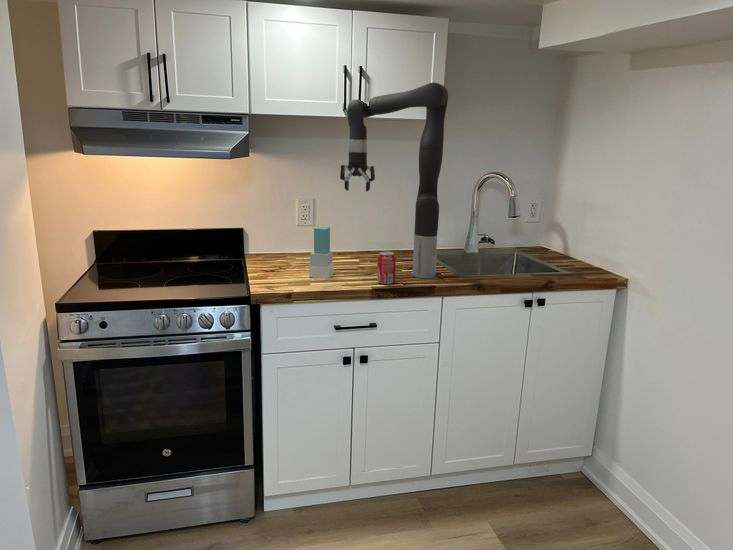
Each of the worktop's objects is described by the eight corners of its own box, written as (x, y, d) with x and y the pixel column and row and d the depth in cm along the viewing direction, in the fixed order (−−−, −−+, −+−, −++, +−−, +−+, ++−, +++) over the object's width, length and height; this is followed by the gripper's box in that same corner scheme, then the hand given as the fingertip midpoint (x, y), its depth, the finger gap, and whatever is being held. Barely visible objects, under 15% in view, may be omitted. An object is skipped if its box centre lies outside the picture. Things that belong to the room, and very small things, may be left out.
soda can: (384, 279, 219) (385, 250, 216) (398, 282, 215) (399, 253, 212) (373, 283, 214) (374, 253, 211) (387, 286, 209) (388, 255, 206)
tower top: (332, 263, 224) (332, 251, 222) (326, 267, 217) (326, 254, 216) (316, 261, 225) (316, 250, 224) (310, 265, 219) (310, 253, 217)
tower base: (333, 274, 226) (333, 262, 224) (328, 279, 218) (328, 267, 217) (314, 273, 227) (314, 261, 226) (309, 278, 219) (309, 266, 218)
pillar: (329, 251, 222) (329, 227, 219) (326, 254, 217) (326, 229, 214) (318, 250, 223) (317, 226, 220) (314, 253, 218) (313, 228, 216)
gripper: (338, 150, 222) (338, 191, 226) (372, 151, 219) (372, 192, 223) (343, 150, 229) (343, 189, 233) (376, 151, 226) (375, 190, 230)
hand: (357, 190), depth 228 cm, fingers open, 8 cm apart
